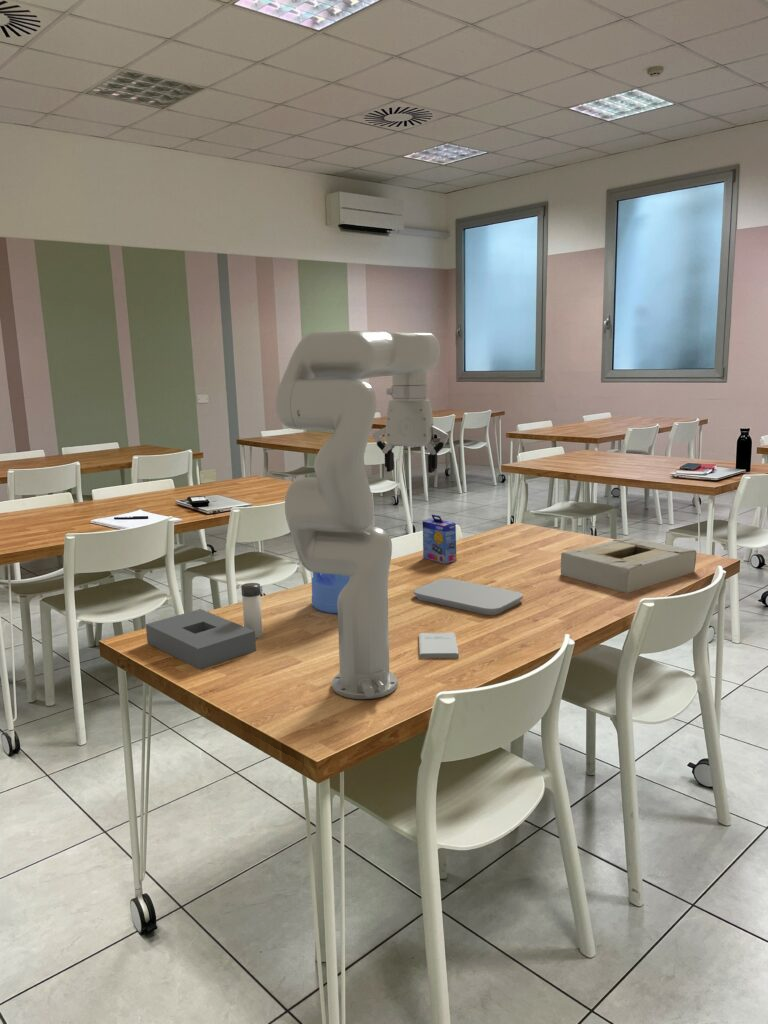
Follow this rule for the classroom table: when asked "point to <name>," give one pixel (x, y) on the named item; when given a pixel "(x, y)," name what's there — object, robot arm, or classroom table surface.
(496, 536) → the classroom table surface
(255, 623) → the peg
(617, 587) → the box
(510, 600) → the tablet
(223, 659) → the socket block
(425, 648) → the external hard drive
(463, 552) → the classroom table surface
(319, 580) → the water jug
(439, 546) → the ink cartridge box
